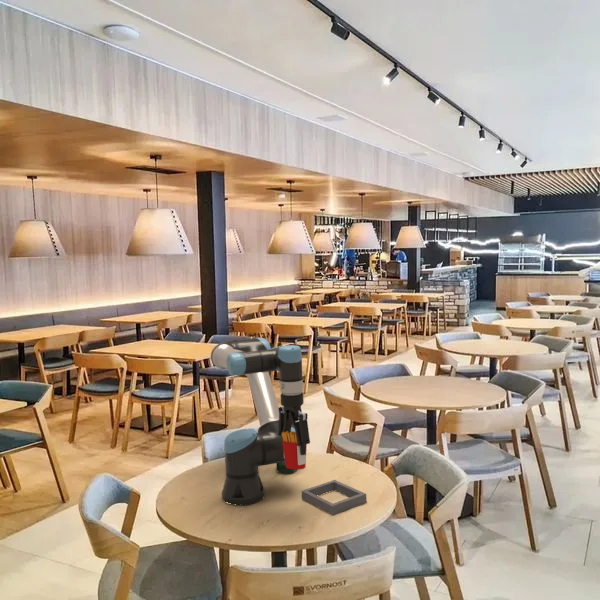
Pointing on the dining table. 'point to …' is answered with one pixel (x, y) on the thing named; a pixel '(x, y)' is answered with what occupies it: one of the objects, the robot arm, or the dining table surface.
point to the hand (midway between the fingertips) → (294, 460)
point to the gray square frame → (334, 508)
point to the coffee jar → (284, 466)
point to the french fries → (291, 450)
